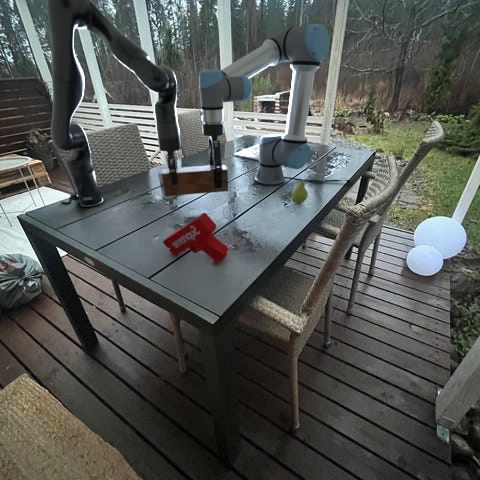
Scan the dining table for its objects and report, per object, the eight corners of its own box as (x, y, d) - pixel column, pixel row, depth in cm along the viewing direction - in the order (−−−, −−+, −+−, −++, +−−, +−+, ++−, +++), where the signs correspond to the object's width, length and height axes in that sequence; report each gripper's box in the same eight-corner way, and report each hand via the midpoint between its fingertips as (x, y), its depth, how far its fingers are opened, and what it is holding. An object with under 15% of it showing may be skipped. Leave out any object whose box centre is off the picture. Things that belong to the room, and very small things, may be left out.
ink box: (177, 191, 132) (173, 167, 126) (183, 194, 129) (179, 170, 123) (161, 196, 127) (157, 172, 121) (167, 199, 124) (163, 174, 118)
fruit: (288, 200, 123) (290, 174, 116) (302, 197, 125) (305, 172, 119) (296, 206, 118) (299, 179, 111) (310, 203, 120) (314, 177, 114)
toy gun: (235, 250, 84) (205, 211, 80) (230, 257, 81) (199, 217, 77) (197, 268, 94) (169, 235, 90) (191, 276, 91) (162, 241, 87)
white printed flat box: (278, 164, 168) (279, 155, 165) (234, 155, 185) (234, 147, 183) (298, 154, 186) (299, 146, 183) (256, 147, 204) (256, 139, 201)
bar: (225, 185, 110) (225, 164, 106) (228, 191, 105) (227, 169, 101) (165, 190, 106) (161, 168, 101) (165, 196, 101) (161, 173, 97)
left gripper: (158, 131, 98) (165, 176, 107) (156, 140, 86) (164, 189, 96) (179, 130, 100) (184, 174, 109) (180, 139, 88) (185, 188, 97)
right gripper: (199, 117, 103) (203, 171, 115) (205, 129, 83) (209, 194, 94) (218, 116, 105) (220, 170, 116) (229, 128, 84) (230, 192, 96)
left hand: (175, 181), depth 102 cm, fingers closed on bar, 6 cm apart
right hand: (215, 181), depth 105 cm, fingers open, 13 cm apart
